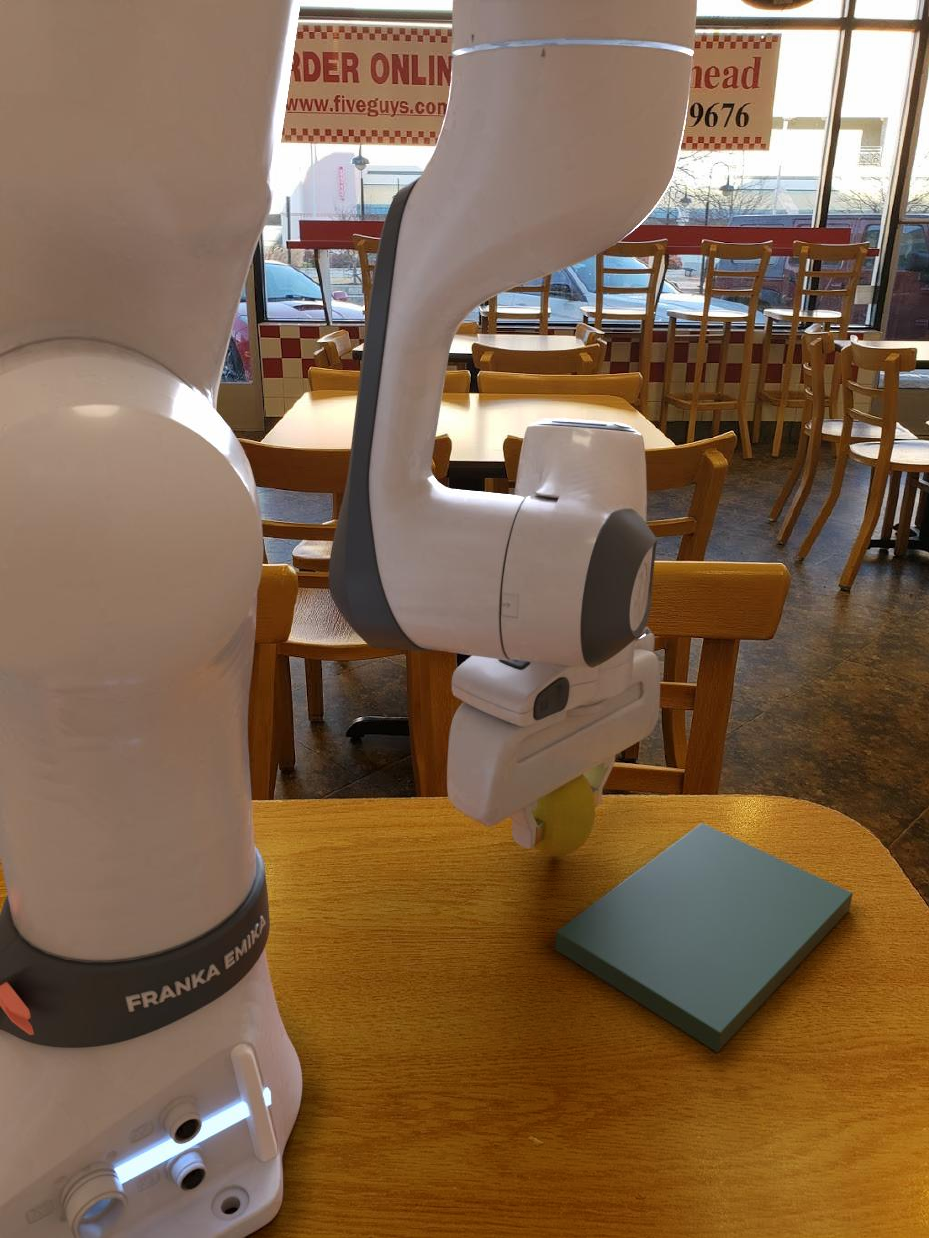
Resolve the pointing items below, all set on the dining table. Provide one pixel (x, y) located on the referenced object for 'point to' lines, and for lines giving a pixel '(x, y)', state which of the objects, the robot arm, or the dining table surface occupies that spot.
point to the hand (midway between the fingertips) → (557, 823)
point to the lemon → (566, 817)
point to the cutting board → (705, 932)
